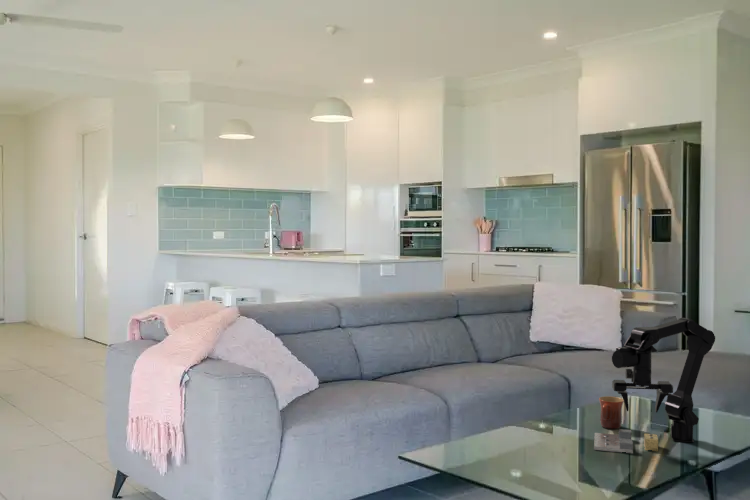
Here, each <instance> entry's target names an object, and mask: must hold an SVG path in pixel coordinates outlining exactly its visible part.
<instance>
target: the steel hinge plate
mask: <svg viewBox="0 0 750 500" xmlns="http://www.w3.org/2000/svg"><path fill="white" fill-rule="evenodd" d="M593 438H594V441H593V442H594V444H593V450H594V451H602V452H614V453H622V452H626V454H634V449H633V448H634V442H633V440H632V430H631V429H623V428H622V429H620V428H618V434H615V433H603V432H601V433H600V432H594V437H593Z"/></svg>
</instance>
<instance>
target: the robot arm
mask: <svg viewBox="0 0 750 500" xmlns="http://www.w3.org/2000/svg"><path fill="white" fill-rule="evenodd" d="M681 333H682V334H683V335H684V336H685V337H687V340H686V343H687V344H686V345H687V348H688V354H687V356H686V360H685V362H684V366H683V369H682V372H681V375H680V378H679V382H678V385H677V388H676V390H675V391H674V386H673V384H672V383H671V382H670V381H669V380H668V381H667V380H666V381H665V380H663V381H662V380H658V381H657V383H652V353H657V352H658V350H657V349H656V348H655V347H654V345H656V344H658V342H659V341H660V340H663V339H664V338H668V337H671V336H675V335H678V334H681ZM715 342H716V336H715V333H714V332H713V331H712V330H710V329H707V328H705V327H703V326H702V325H700V324H699V323H697V322H696V321H695V320H693V319H692V318H686V317H681V318H678V319H676V320H671V321H669V322H665V323H663V324H659V325H655V326H639V327H638V326H637V327H634V328H632V330H631V333H630V335H629V336H628V338H627V339H626V341H625V343H624V345H623V346H622V347H621V346H618V347H617V346H616V348H615V351H613V353H612V356H611V362H612V365H613V366H614V367H615V368H616V369H624V368H625V379H628V380H629V379H630V380H631V381H630V382H626V381H625V379H613V380H612V382H611V388H612V390H613V391H614V392H617V394H619V395H620V396H621V398H622V399H623V400H624V403H623V404H624V406H625V410H626V412H629V409H630V408H629V397H628V396H629V395H628V391H627V390H628V389H629V390H631V389H633V390H656V397H655V406H654V408H655V413H658V412H659V409H660V407H661V405H662V403H663V401H664V400H665V398H666V396H667V398H666V401H665V402H664V406H665V407H664V408H665V409H664V410H665V412H666V414H667V418H668V419H669V420H671V421H672V423H670V437H671V439H672V441H674V442H681V443H694V442H695V441H694V426H695V425H698V422H699V419H700V418H699V417H698V416H697V415H696V413H695V412H694V410H693V409H694V402H693V396H692V394H693V391H694V389H695V386H696V383H697V378H698V376H699V373H700V370H701V366H702V363H703V362H704V357H705V356H706V355H707V354H708V353H709V352H710V351H712V348H713V345H714V344H715ZM632 369H633V370H632Z"/></svg>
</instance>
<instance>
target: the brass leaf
mask: <svg viewBox="0 0 750 500" xmlns="http://www.w3.org/2000/svg"><path fill="white" fill-rule="evenodd" d="M643 447H645V448H644V451H648V450H652V451H651V452H659V438H658V435H657V434H654V433H643Z"/></svg>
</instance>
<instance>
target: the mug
mask: <svg viewBox="0 0 750 500" xmlns="http://www.w3.org/2000/svg"><path fill="white" fill-rule="evenodd" d="M598 401H599V405H600V419H599V420H600V425H601V426H602V428H604V429H608V430H619V429H620V428H621V427H622V422H623V419H622V418H623V412H622V410H623V405H624V404H625V403H624V400H623V398H622V397H617V396H609V395H605V396H600V397H599V398H598Z"/></svg>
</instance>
